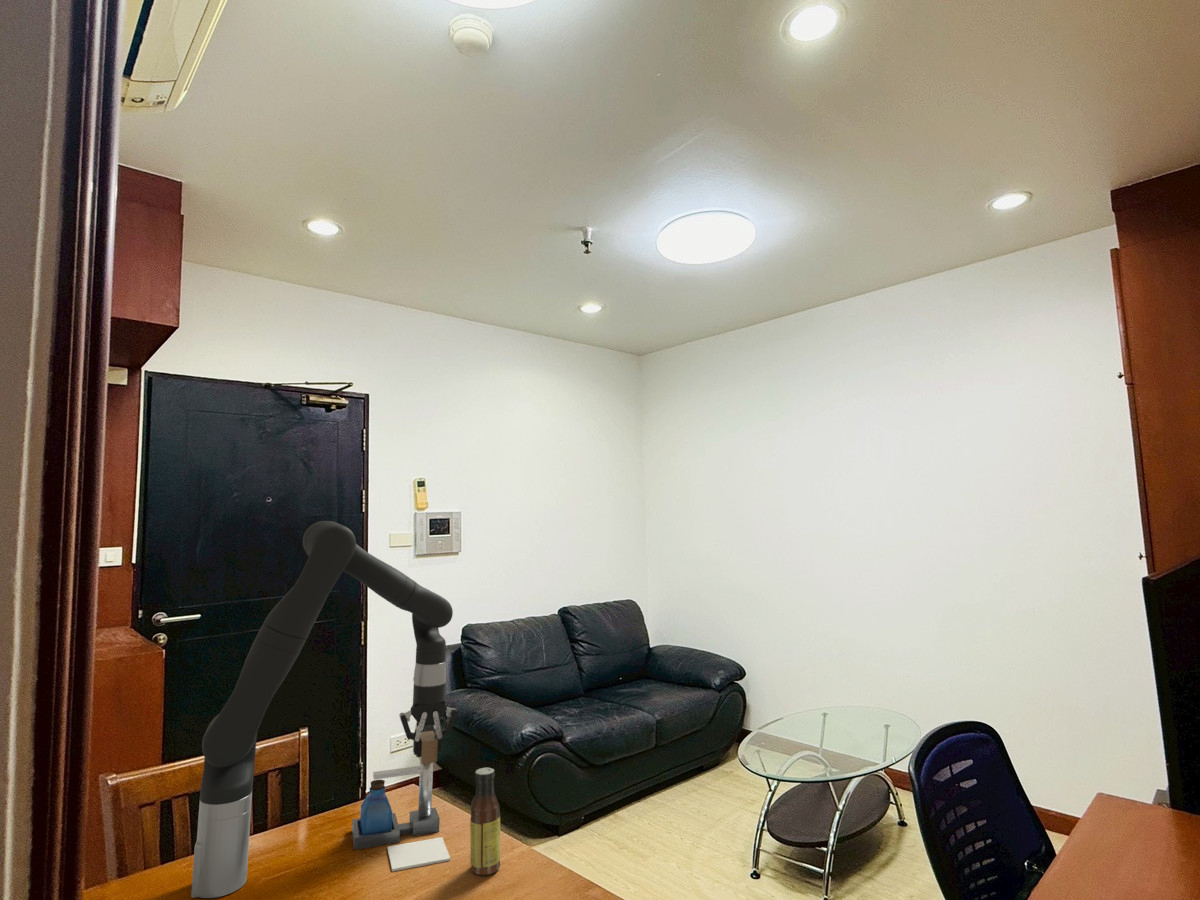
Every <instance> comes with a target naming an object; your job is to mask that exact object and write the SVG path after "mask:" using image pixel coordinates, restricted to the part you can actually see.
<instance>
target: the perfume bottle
mask: <svg viewBox="0 0 1200 900" xmlns="http://www.w3.org/2000/svg"><path fill="white" fill-rule="evenodd" d="M385 783H386V781H385V780H384V779H375V780H374V779H373V780H372V781H370V787H369V794H367V795H366V796H365V798H364V800H363V801H362V802H361V805H360V817H359V818H360V831H359V835H364V834H370V833H376V832H382V831H388V830H392V813H393V810H392V807H391V803H390V801H389V798H388V796H387V795H386V786H385Z"/></svg>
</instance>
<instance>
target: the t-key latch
mask: <svg viewBox="0 0 1200 900" xmlns="http://www.w3.org/2000/svg"><path fill="white" fill-rule="evenodd" d="M435 735H436V734H435V731H434V730H428V731H422V733H421V737H420V741H421V742H420V757H418V759H419V765H417V766H416V765H415V766H409V767H408V766H407V767H402V768H401V767H400V768H393V769H385V770H378V771H373V773H372V778H373V781H374V780H383V779H390V778H395V777H402V776H403V777H404V776H409V775H417V774H419V780H418V781H419V783H418V784H419V785H418V806H417V808H418V809H417V810H418V815H419V816H428V815H430V814H431V808H432V807H433V806H432V804H433V803H432V801H433V779H434V778H433V776H434V775H433V774H434V763H437V762H438V755H437V747H438V739H437V737H436V736H435Z"/></svg>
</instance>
